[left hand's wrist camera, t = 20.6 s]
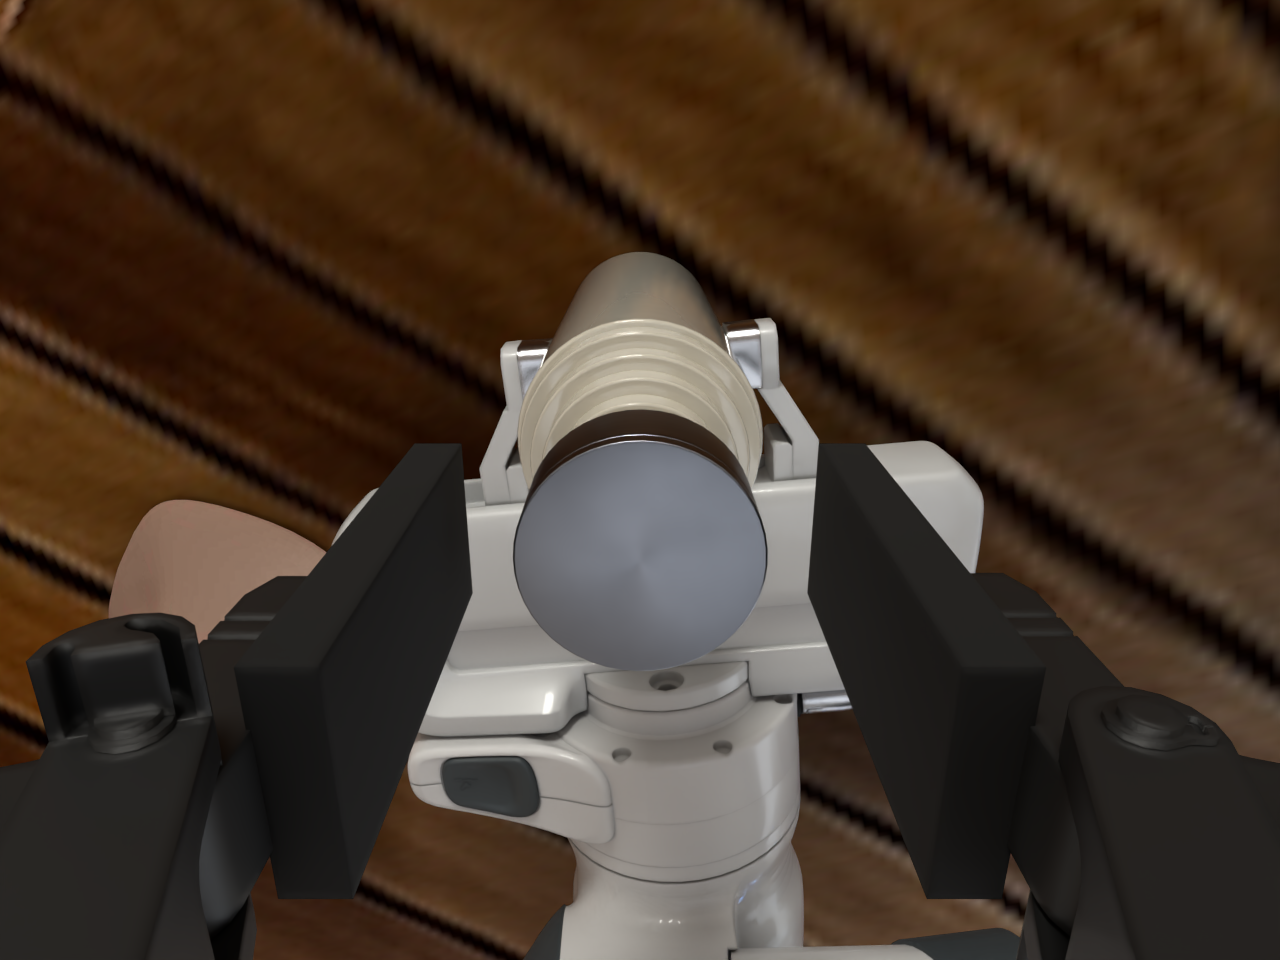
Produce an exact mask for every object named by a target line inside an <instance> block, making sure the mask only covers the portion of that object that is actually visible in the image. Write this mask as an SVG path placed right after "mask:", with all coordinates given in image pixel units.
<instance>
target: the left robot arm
mask: <svg viewBox="0 0 1280 960" xmlns="http://www.w3.org/2000/svg"><path fill="white" fill-rule="evenodd" d="M472 594H473V590H472V577H471V564H470V551H469V538H468V525H467V512H466V499H465V486H464V473H463V460H462V447H461V444H414V445H413V446H412V448H411V449H410V450H409V451H408V453H407V454H406V455H405V456H404V457H403V459H402V460H401V461H400V462H399V464H398V465H397V466H396V467H395V469H394V470H393V471H392V472H391V474H390V475H389V476H388V477H387V478H386V480H385V481H384V482H383V483H382V485H381V486H380V487H379V488H378V490H377V491H376V492H375V493H374V494H373V496H372V497H371V498H370V499H369V501H368V502H367V503H366V504H365V506H364V507H363V508H362V509H361V511H360V512H359V513H358V514H357V515H356V517H355V518H354V519H353V520H352V522H351V523H350V524H349V525H348V527H347V528H346V529H345V530H344V532H343V533H342V534H341V535H340V536H339V538H338V539H337V540H336V541H335V543H334V544H333V545H332V546H331V548H330V549H329V550H328V551H327V552H326V554H325V555H324V556H323V557H322V559H321V560H320V561H319V562H318V564H317V565H316V566H315V567H314V569H313V570H312V571H311V572H310V573H309V575H308V576H277V577H275V578H273V579H271V580H270V581H268V582H266V583H264V584H262V585H261V586H259V587H257V588H255V589H254V590H252V591H250V592H248V593H247V594H245V595H244V596H243V597H242V598H241V599H240V600H239V601H238V602H237V603H236V605H235V606H234V607H233V608H232V609H231V610H230V611H229V612H228V613H227V614H226V615H225V616H224V618H225V619H224V621H220V622H219V623H218V624H217V625H216V626H215V627H214V628H213V629H212V631H211V632H210V633H209V634H208V638H207V640H202V641H201V642H200V644H199V643H198V638H197V633H196V628H195V625H194V624H192V623H191V622H190V621H188V620H187V619H185V618H184V617H182V616H177V615H172V614H166V613H138V614H128V615H123V616H118V617H113V618H109V619H104V620H99V621H96V622H94V623H91V624H88V625H85V626H82V627H79V628H77V629H74V630H71V631H68V632H67V633H65V634H63V635H61V636H59V637H58V638H56V639H54V640H52V641H50V642H48V643H47V644H45V645H43V646H42V647H41V648H40V649H39V650H38V651H37V652H35V653H34V654H33V655H32V656H31V657H30V658H29V659H28V660H27V661H26V664H27V668H28V671H29V674H30V678H31V681H32V685H33V688H34V692H35V695H36V698H37V702H38V705H39V709H40V712H41V716H42V719H43V723H44V726H45V729H46V733H47V736H48V740H49V743H48V745H47V747H46V749H45V751H44V752H43V754H42V756H41V758H40V759H39V760H35V761H31V762H26V763H21V764H15V765H10V766H5V767H0V960H253V953H254V946H255V939H256V931H257V928H256V921H255V913H254V908H253V903H252V898H251V894H250V892H251V890H252V888H253V886H254V884H255V882H256V881H257V879H258V877H259V875H260V873H261V871H262V869H263V868H264V866H265V864H266V862H267V860H268V858H269V856H270V858H271V863H272V869H273V874H274V879H275V884H276V889H277V894H278V899H353V898H354V895H355V893H356V890H357V888H358V885H359V882H360V880H361V877H362V875H363V872H364V870H365V867H366V865H367V862H368V859H369V857H370V854H371V852H372V849H373V847H374V844H375V842H376V839H377V836H378V834H379V831H380V829H381V826H382V824H383V821H384V819H385V816H386V813H387V811H388V808H389V806H390V803H391V801H392V798H393V796H394V793H395V790H396V788H397V785H398V783H399V780H400V778H401V775H402V773H403V770H404V767H405V765H406V762H407V760H408V757H409V755H410V752H411V750H412V747H413V744H414V742H415V739H416V737H417V734H418V732H419V729H420V727H421V724H422V721H423V719H424V716H425V714H426V711H427V709H428V706H429V704H430V701H431V698H432V696H433V693H434V691H435V688H436V686H437V683H438V681H439V678H440V675H441V673H442V670H443V668H444V665H445V663H446V660H447V658H448V655H449V652H450V650H451V647H452V645H453V642H454V640H455V637H456V635H457V632H458V629H459V627H460V624H461V622H462V619H463V617H464V614H465V612H466V609H467V606H468V604H469V601H470V599H471V596H472ZM807 594H808V596H809V599H810V601H811V604H812V606H813V609H814V612H815V614H816V617H817V619H818V622H819V624H820V627H821V629H822V632H823V635H824V637H825V640H826V642H827V645H828V647H829V650H830V652H831V655H832V658H833V660H834V663H835V665H836V668H837V670H838V673H839V675H840V678H841V681H842V683H843V686H844V688H845V691H846V693H847V696H848V698H849V701H850V704H851V706H852V709H853V711H854V714H855V716H856V719H857V721H858V724H859V727H860V729H861V732H862V734H863V737H864V739H865V742H866V744H867V747H868V750H869V752H870V755H871V757H872V760H873V762H874V765H875V767H876V770H877V773H878V775H879V778H880V780H881V783H882V785H883V788H884V790H885V793H886V796H887V798H888V801H889V803H890V806H891V808H892V811H893V813H894V816H895V819H896V821H897V824H898V826H899V829H900V831H901V834H902V836H903V839H904V842H905V844H906V847H907V849H908V852H909V854H910V857H911V859H912V862H913V865H914V867H915V870H916V872H917V875H918V877H919V880H920V882H921V885H922V888H923V890H924V893H925V895H926V898H927V899H1002V894H1003V889H1004V884H1005V879H1006V874H1007V868H1008V863H1009V858H1010V853H1011V854H1012V856H1013V858H1014V859H1015V861H1016V863H1017V865H1018V867H1019V869H1020V871H1021V872H1022V874H1023V876H1024V878H1025V880H1026V882H1027V884H1028V885H1029V887H1030V894H1029V898H1028V903H1027V908H1026V913H1025V918H1024V922H1023V927H1022V932H1021V937H1020V942H1019V947H1018V951H1017V956H1016V960H1280V763H1275V762H1270V761H1265V760H1259V759H1254V758H1249V757H1245V756H1241V755H1239V754H1238V753H1237V751H1236V749H1235V747H1234V745H1233V744H1232V742H1231V740H1230V739H1229V738H1228V737H1227V736H1226V735H1225V733H1224V732H1223V731H1222V730H1221V729H1220V728H1219V726H1218V725H1217V724H1216V723H1215V722H1213V721H1212V720H1210V719H1208V718H1207V717H1205V716H1204V715H1202V714H1201V713H1199V712H1198V711H1196V710H1195V709H1193V708H1192V707H1190V706H1187V705H1185V704H1183V703H1180V702H1178V701H1175V700H1173V699H1171V698H1168V697H1166V696H1163V695H1161V694H1157V693H1152V692H1148V691H1144V690H1140V689H1136V688H1132V687H1124V686H1123V685H1122V684H1121V683H1120V682H1119V681H1118V679H1117V678H1116V677H1115V676H1114V675H1113V674H1112V673H1111V672H1110V671H1109V670H1108V669H1107V668H1106V667H1105V665H1104V664H1103V663H1102V662H1101V661H1100V660H1099V659H1098V658H1097V657H1096V656H1095V655H1094V654H1093V653H1092V652H1091V650H1090V649H1089V648H1088V647H1087V646H1086V645H1085V644H1084V643H1083V642H1082V641H1081V640H1080V639H1079V638H1078V636H1073V631H1072V630H1071V629H1070V628H1069V627H1068V626H1067V625H1066V624H1065V622H1064V621H1063V620H1062V619H1061V618H1056V613H1055V612H1054V611H1053V610H1052V608H1051V607H1050V606H1049V605H1048V604H1047V603H1046V602H1045V601H1044V600H1043V599H1042V598H1041V597H1040V596H1039V594H1038V593H1037V592H1036V591H1034V590H1032V589H1030V588H1028V587H1027V586H1025V585H1023V584H1021V583H1020V582H1018V581H1016V580H1014V579H1012V578H1011V577H1009V576H1007V575H1005V574H1004V573H970V572H969V571H968V570H967V569H966V567H965V566H964V565H963V564H962V562H961V561H960V560H959V559H958V557H957V556H956V555H955V554H954V553H953V551H952V550H951V549H950V548H949V546H948V545H947V544H946V543H945V541H944V540H943V539H942V538H941V536H940V535H939V534H938V533H937V532H936V530H935V529H934V528H933V527H932V525H931V524H930V523H929V522H928V520H927V519H926V518H925V517H924V515H923V514H922V513H921V512H920V511H919V509H918V508H917V507H916V506H915V504H914V503H913V502H912V501H911V499H910V498H909V497H908V496H907V495H906V493H905V492H904V491H903V490H902V488H901V487H900V486H899V485H898V483H897V482H896V481H895V480H894V478H893V477H892V476H891V475H890V474H889V472H888V471H887V470H886V469H885V467H884V466H883V465H882V464H881V462H880V461H879V460H878V459H877V457H876V456H875V455H874V454H873V453H872V451H871V450H870V449H869V448H868V446H867V445H866V444H819V446H818V459H817V472H816V485H815V499H814V512H813V525H812V538H811V551H810V564H809V577H808V590H807Z"/></svg>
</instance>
